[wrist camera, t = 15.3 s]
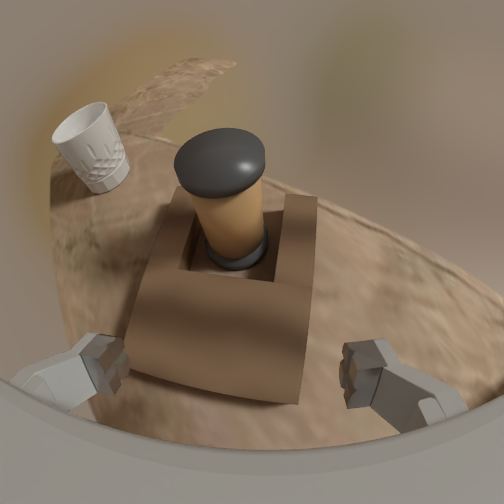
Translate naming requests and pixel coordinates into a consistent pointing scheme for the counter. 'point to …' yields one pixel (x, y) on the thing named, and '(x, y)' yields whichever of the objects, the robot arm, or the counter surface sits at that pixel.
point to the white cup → (93, 147)
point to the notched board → (225, 311)
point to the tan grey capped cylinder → (226, 194)
